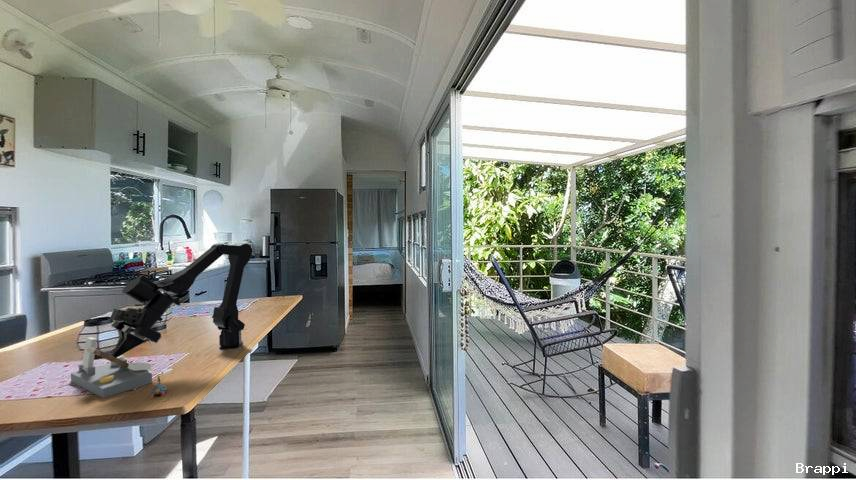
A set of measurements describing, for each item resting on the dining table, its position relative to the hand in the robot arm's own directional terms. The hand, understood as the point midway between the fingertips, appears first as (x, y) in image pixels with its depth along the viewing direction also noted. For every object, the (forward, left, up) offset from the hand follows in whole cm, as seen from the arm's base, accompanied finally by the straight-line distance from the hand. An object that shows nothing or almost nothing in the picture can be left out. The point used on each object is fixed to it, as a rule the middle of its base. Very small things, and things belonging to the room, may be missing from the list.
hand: (113, 357), depth 102 cm
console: (0, +1, -7) cm, 7 cm away
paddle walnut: (-2, -2, -4) cm, 5 cm away
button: (+3, -7, -4) cm, 9 cm away
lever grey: (+8, -2, -4) cm, 9 cm away
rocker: (-7, +2, -4) cm, 9 cm away
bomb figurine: (-17, +13, -8) cm, 23 cm away
